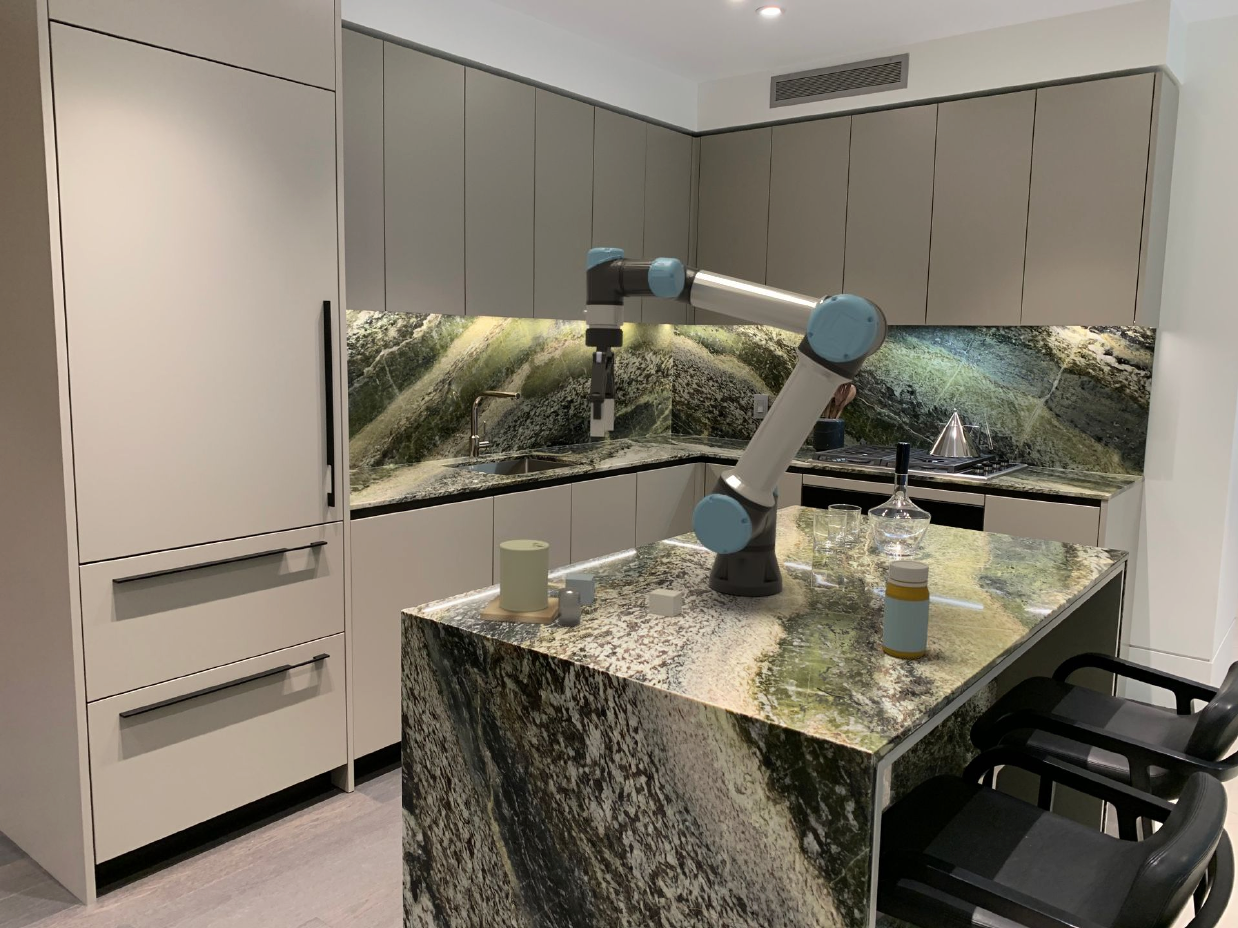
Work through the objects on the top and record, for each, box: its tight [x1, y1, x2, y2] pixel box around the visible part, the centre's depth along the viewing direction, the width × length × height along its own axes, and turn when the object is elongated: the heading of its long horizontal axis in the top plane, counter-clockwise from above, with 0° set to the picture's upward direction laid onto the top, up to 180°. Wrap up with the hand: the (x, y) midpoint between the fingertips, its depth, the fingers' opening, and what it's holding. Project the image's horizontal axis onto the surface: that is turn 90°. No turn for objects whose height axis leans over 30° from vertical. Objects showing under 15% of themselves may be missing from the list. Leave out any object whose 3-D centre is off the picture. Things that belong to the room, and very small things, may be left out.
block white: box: [648, 587, 683, 618], centre depth 180 cm, size 5×4×4 cm
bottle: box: [881, 559, 930, 660], centre depth 159 cm, size 7×7×15 cm
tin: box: [557, 587, 582, 627], centre depth 172 cm, size 4×4×6 cm
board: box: [479, 594, 558, 625], centre depth 179 cm, size 13×13×1 cm
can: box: [499, 539, 550, 612], centre depth 178 cm, size 9×9×12 cm
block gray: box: [564, 572, 596, 606], centre depth 187 cm, size 5×5×5 cm
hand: (602, 433), depth 195 cm, fingers open, 13 cm apart
